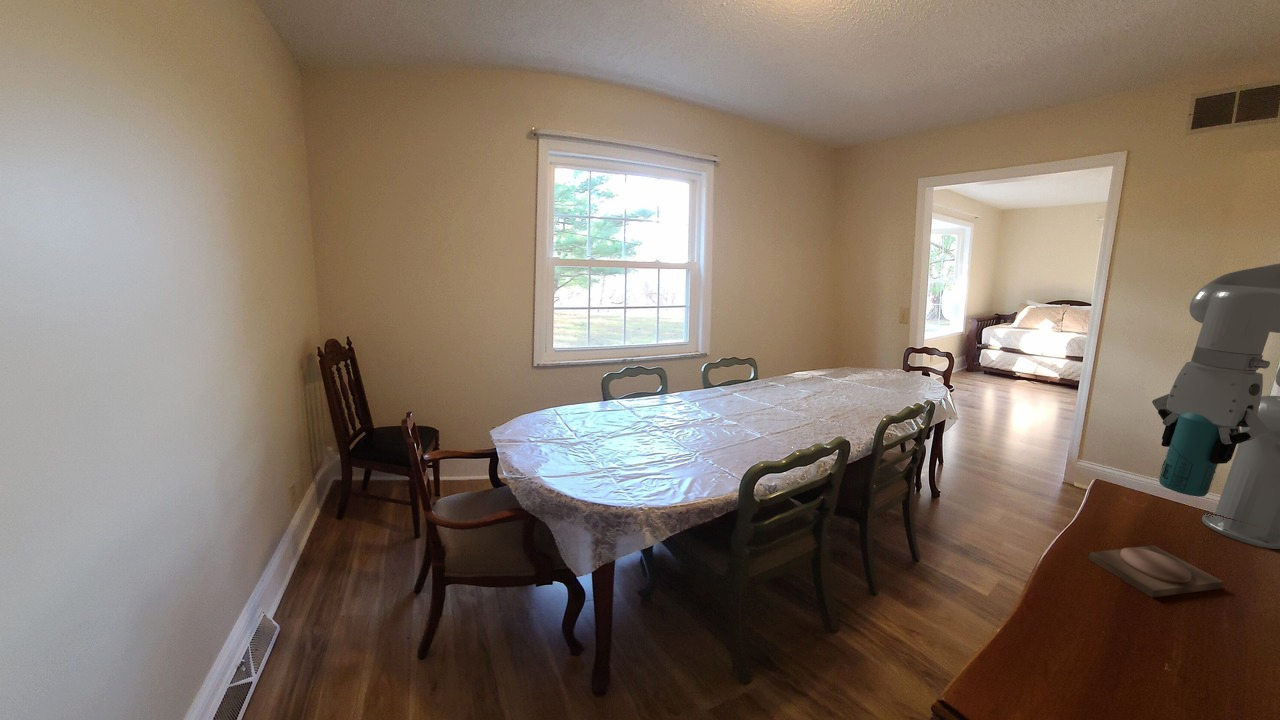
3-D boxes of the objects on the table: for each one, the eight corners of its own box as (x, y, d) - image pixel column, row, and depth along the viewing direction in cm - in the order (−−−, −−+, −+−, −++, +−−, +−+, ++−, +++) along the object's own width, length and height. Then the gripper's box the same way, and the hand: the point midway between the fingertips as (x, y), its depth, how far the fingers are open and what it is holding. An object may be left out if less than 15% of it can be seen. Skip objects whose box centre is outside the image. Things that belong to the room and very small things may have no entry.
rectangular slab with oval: (1151, 551, 101) (1154, 542, 100) (1220, 588, 90) (1224, 577, 90) (1088, 558, 98) (1090, 549, 98) (1151, 597, 88) (1155, 586, 87)
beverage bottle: (1216, 506, 87) (1253, 402, 82) (1172, 501, 89) (1207, 398, 84) (1185, 489, 93) (1218, 391, 89) (1144, 484, 95) (1175, 387, 90)
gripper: (1314, 373, 77) (1275, 475, 81) (1180, 349, 93) (1153, 435, 98) (1278, 373, 76) (1240, 477, 80) (1149, 349, 92) (1123, 436, 97)
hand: (1193, 453), depth 89 cm, fingers closed on beverage bottle, 6 cm apart
